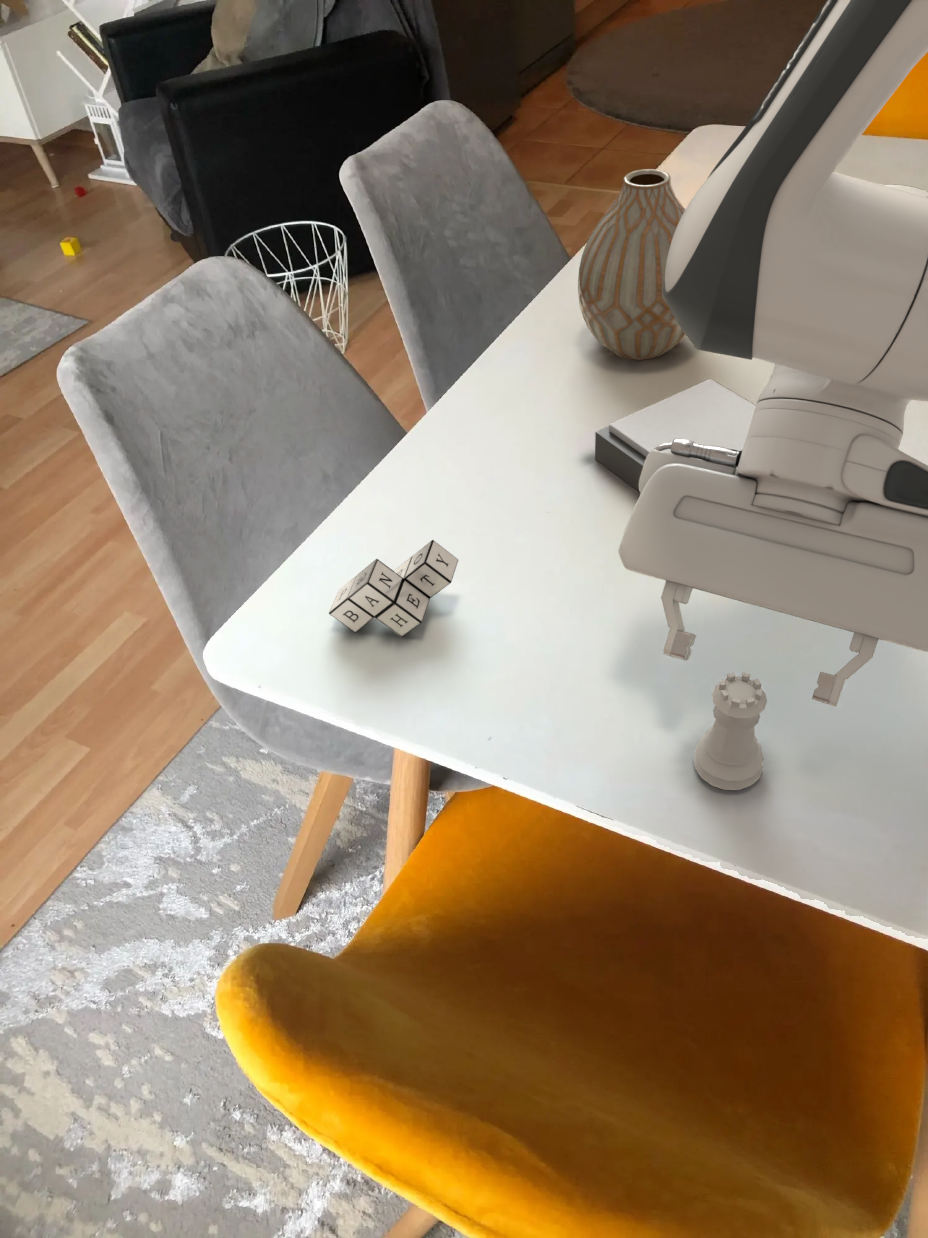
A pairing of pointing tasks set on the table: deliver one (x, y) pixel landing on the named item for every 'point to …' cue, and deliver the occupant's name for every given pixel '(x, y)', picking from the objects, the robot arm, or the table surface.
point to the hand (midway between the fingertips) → (747, 679)
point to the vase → (632, 269)
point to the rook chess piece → (732, 735)
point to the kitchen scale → (674, 427)
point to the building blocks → (395, 591)
